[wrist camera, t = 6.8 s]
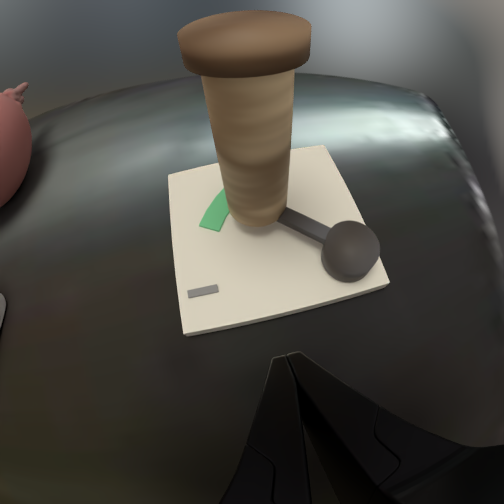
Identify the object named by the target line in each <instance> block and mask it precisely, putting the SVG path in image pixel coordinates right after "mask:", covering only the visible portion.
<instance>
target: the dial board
mask: <svg viewBox="0 0 504 504" xmlns="http://www.w3.org/2000/svg"><path fill="white" fill-rule="evenodd" d="M168 182H169V201H170V217H171V231H172V243H173V254H174V264H175V273H176V282H177V290H178V298H179V306H180V313H181V320H182V327H183V333H184V334H185V335H186V336H193V335H199V334H204V333H209V332H214V331H219V330H224V329H229V328H234V327H239V326H243V325H248V324H252V323H257V322H261V321H265V320H270V319H274V318H278V317H282V316H286V315H290V314H294V313H298V312H302V311H306V310H310V309H313V308H317V307H321V306H325V305H328V304H332V303H335V302H339V301H342V300H346V299H349V298H353V297H356V296H359V295H363V294H366V293H369V292H372V291H376V290H379V289H382V288H385V287H386V286H387V285H388V284H389V283H390V282H389V279H388V277H387V274H386V272H385V269H384V267H383V264H382V262H381V259H380V257H379V258H378V260H377V262H376V263H375V265H374V266H373V267H372V268H371V270H370V271H369V272H368V274H367V275H366V276H365V277H364V278H362V279H361V280H359V281H356V282H342V281H339V280H337V279H335V278H333V277H332V276H331V275H330V274H329V273H328V272H327V271H326V270H325V268H324V266H323V264H322V260H321V251H322V248H323V244H322V243H320V242H318V241H316V240H314V239H312V238H309V237H307V236H305V235H303V234H301V233H299V232H297V231H295V230H293V229H291V228H289V227H287V226H285V225H283V224H281V223H279V222H277V221H276V222H274V223H272V224H270V225H267V226H262V227H251V226H246V225H244V224H241V223H239V222H238V221H237V220H235V219H234V218H233V217H232V215H231V214H230V212H229V209H228V204H227V200H226V195H225V190H224V186H223V181H222V176H221V172H220V167H219V163H216V164H211V165H207V166H202V167H198V168H194V169H190V170H186V171H182V172H178V173H174V174H170V175H168ZM286 207H288V208H290V209H292V210H295V211H297V212H299V213H301V214H303V215H305V216H307V217H309V218H312V219H314V220H316V221H318V222H320V223H322V224H324V225H326V226H328V227H330V228H332V227H333V226H334V225H335V224H337V223H339V222H342V221H347V220H351V221H357V222H360V223H362V224H364V225H365V223H364V221H363V219H362V217H361V214H360V212H359V210H358V208H357V206H356V204H355V202H354V200H353V198H352V196H351V194H350V192H349V190H348V188H347V186H346V184H345V182H344V180H343V178H342V177H341V175H340V173H339V171H338V169H337V167H336V165H335V164H334V162H333V160H332V158H331V156H330V155H329V153H328V151H327V149H326V148H325V146H324V145H319V146H312V147H304V148H297V149H291V150H290V166H289V180H288V194H287V206H286Z"/></svg>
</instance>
